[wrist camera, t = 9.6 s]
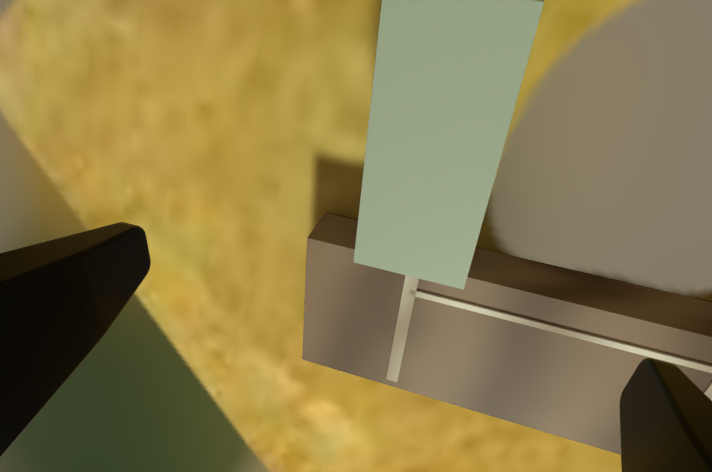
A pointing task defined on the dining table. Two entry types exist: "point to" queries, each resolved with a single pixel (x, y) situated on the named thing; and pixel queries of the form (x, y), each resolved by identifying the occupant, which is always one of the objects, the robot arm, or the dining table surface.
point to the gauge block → (438, 130)
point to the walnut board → (499, 335)
